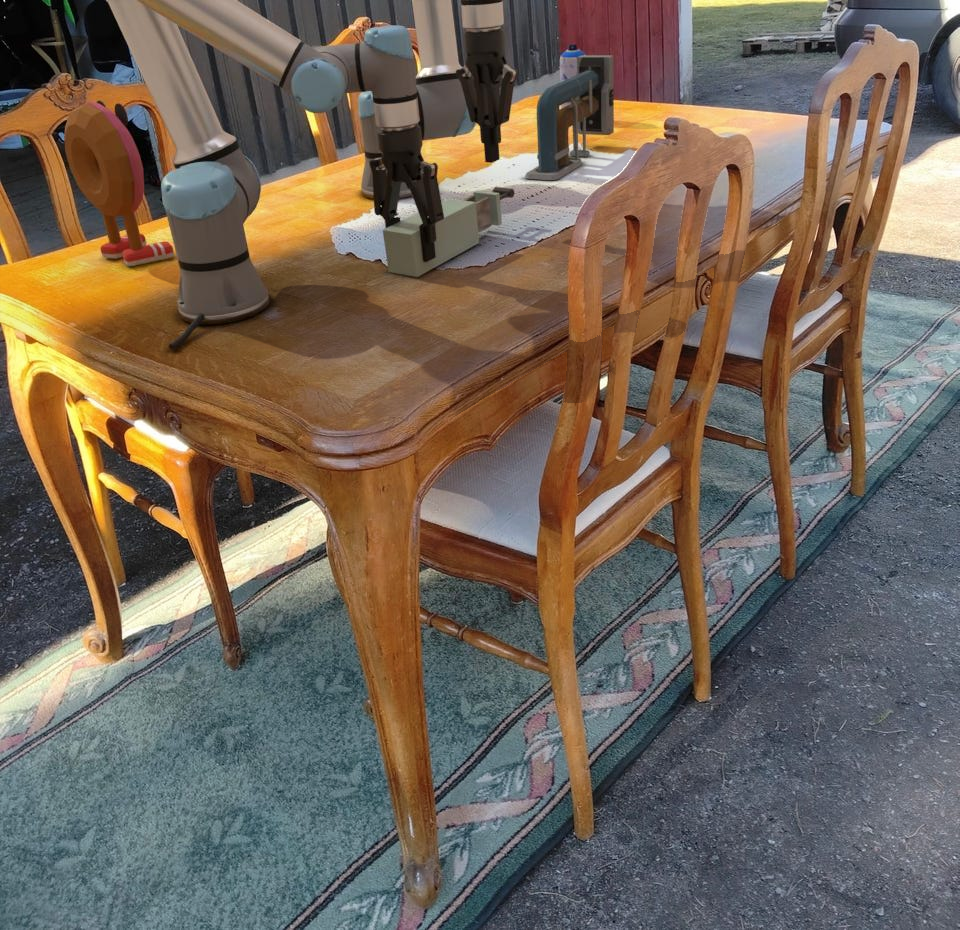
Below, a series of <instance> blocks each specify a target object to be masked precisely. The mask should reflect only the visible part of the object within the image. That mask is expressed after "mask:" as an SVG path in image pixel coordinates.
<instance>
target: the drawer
mask: <svg viewBox="0 0 960 930" xmlns="http://www.w3.org/2000/svg"><path fill="white" fill-rule="evenodd" d="M514 197H515V189H514V188H510V187H509V188H508V187H501V186H494V187H493V189H492V191H486V190H478V189H477V190H475V191H473V193H472V195H470V196H468V197H465V198H464V199H462V200H463V201H471V202H475V203H476V213H477V224H478V234H480V233H481V232H483V231H486V230H487V229H489V228H491V227H492V226H496V227H497V226H498V227H499V226H501V225H502V224H503V221H502V209H501V201H502V200H504V199H506V198H508V199H513V198H514Z"/></svg>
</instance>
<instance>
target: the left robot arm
mask: <svg viewBox="0 0 960 930" xmlns="http://www.w3.org/2000/svg"><path fill="white" fill-rule="evenodd" d="M105 1H106V2H107V3H108V5H109V8H110V9H111V12H112V14H113V16H114V18H115V20H116V22H117V25H118V27H119V30H120V31H121V33H122V36H123V39H124V40H125V42H126V44H127V46H128V48H129V51H130V52H131V55H132V57H133V59H134V62H135V63H136V66H137V68H138V70H139V72H140V74H141V77H142V79H143V81H144V83H145V85H146V87H147V89H148V92H149V94H150V96H151V98H152V101H153V102H154V104H155V106H156V109H157V112H158V113H159V115H160V117H161V120H162V121H163V124H164V126H165V128H166V130H167V133H168V135H169V137H170V139H171V141H172V144H173V146H174V148H175V152H174V155H173V158H172V165H173V167H174V168H173V169H172V170H171V171H169V172H168V173H166V175H165V176H164V177H163V178H162V180H161V183H160V190H161V199H162V206H163V208H164V210H165V214H166V218H167V221H168V226H169V230H170V234H171V238H172V241H173V248H174V250H175V251H174V252H175V254H176V258H177V262H178V266H179V283H178V294H177V310H178V314H179V318H180V319H182V320H183V321H184V322H186V323H189V325H188V326H187V328H186V329H185V330H184V332H183V333H181V335H180V336H178V337H176V339H174V340H173V341H172V342H171V343H169V344H168V348H169V350H171V351H173V350H175V349H176V348H178V347H179V346H180V345H182V344H183V343H184V342H185V341H187V339H188V338H189V337H190V336H191V334H192V333H193V332H194V331H195V329H196V328H197V327H198V326H199V325H202V326H203V325H204V326H205V325H206V326H210V325H222V324H230V323H233V322H239V321H241V320H245V319H248V318H251V317H253V316H256V315H258V314H260V312H263V311H264V310H265V309H266V308H267V307H268V306H269V305H270V296H269V291H268V289H267V287H266V284H265V283H264V282H263V280H262V278H261V276H260V274H259V272H258V270H257V269H256V267H255V265H254V264H253V262H252V260H251V257H250V251H249V246H248V241H247V236H246V232H245V227H244V224H245V222H246V221H247V220H248V218H249V217H250V216H251V215H252V214H253V213H254V212H255V210H256V208H257V206H258V204H259V201H260V198H261V197H260V196H261V191H262V182H261V181H262V180H261V177H260V173H259V171H258V169H257V167H256V165H255V164H254V163H253V162H252V160H251V159H250V158H248V156H246V155H244V154H243V151H242V149H241V147H240V144H239V143H238V140H237V137H236V136H234V135H232V134H230V133H228V132H226V131H225V130H223V127H222V125H221V122H220V121H219V118H218V116H217V113H216V111H215V109H214V107H213V104H212V101H211V100H210V97H209V95H208V93H207V91H206V88H205V86H204V84H203V82H202V79H201V77H200V74H199V72H198V70H197V67H196V65H195V62H194V60H193V58H192V55H191V54H190V52H189V48H188V47H187V45H186V43H185V40H184V38H183V36H182V35H183V34H182V33H181V30H180V28H182V29H183V30H184V31H186V32H188V33H190V34H191V35H193V36H195V37H196V38H198V39H200V40H202V41H203V42H205V43H206V44H207V45H209V46H211V47H213V48H214V49H216V50H218V51H220V52H222V53H223V54H225V55H226V56H228V57H229V58H231V59H233V60H234V61H236V62H237V63H240V64H241V65H243V66H244V67H247V68H248V69H249V70H251V71H252V72H254V73H256V74H258V75H259V76H261V77H262V78H264V79H266V80H268V81H269V82H271V83H272V84H274V85H276V86H277V87H279V88H281V89H282V90H284V92H287V93H289V94H290V95H291V96H293V98H294V100H295V101H296V103H297V104H298V105H299V106H300V108H302V109H303V110H305V111H307V112H309V113H311V114H325V113H327V112H329V111H331V110H333V109H334V108H336V107H338V105H339V104H340V103H342V101H343V99H344V96H345V94H346V95H347V94H355V93H362V92H366V91H372V95H373V104H374V113H375V122H376V126H378V127H380V128H379V129H378V131H377V136H378V144H379V150H380V151H381V152H382V157H379V158H376V159H373V160H371V161H370V162H369V164H370V168H371V171H372V175H373V194H374V199H373V209H374V211H373V212H374V215H376V216H380V217H382V219H383V220H384V227H385V228H388V227H390V226H392V225H394V224H396V223H398V222H400V221H401V217H399V212H398V205H399V200H400V199H399V194H400V187H401V183H402V182H404V183H406V186H407V188H408V189H410V191H411V193H412V196H411V197H412V198H413V201H414V204H415V206H416V209H417V213H418V212H419V215H420V217H421V220H422V223H423V224H421V225H420V226H419V228H420V236H421V245H422V254H423V262H428V261H430V260H432V259H434V258H436V254H435V245H434V242H435V241H436V239H437V238H436V228H435V223H437V222H439V221H441V220H443V219H444V214H443V208H442V202H441V201H442V196H441V192H440V185H439V181H438V170H439V169H438V168H439V166H438V163H436V162H432V163H431V162H430V163H429V162H428V161H425V160H424V157H423V155H422V147H423V141H422V134H421V127H420V126H419V125H418V124H417V123H418V122H419V121H420V117H419V107H418V98H417V87H416V76H417V75H416V67H415V65H416V64H415V54H414V50H413V44H412V37H411V32H410V30H409V29H408V28H407V27H406V26H404V25H382V26H375V27H371V28H367V29H366V30H365V32H364V39H363V41H360V42H356V43H345V44H332V45H312V46H310V45H308V43H307V44H306V43H305V42H304V41H302V40H301V39H299V38H297V37H296V36H294V35H292V34H291V33H290V32H288V31H286V30H285V29H284V28H282V27H280V26H278V25H277V24H275V23H273V22H272V21H270V20H269V19H267V18H266V17H264V16H263V15H261V14H259V13H258V12H256V11H255V10H253V9H252V8H250V7H248V6H247V5H245V4H244V3H242V2H240V1H239V0H105ZM179 27H180V28H179ZM386 170H387V174H386ZM421 170H422V172H421ZM422 175H423V176H422ZM415 180H416V182H412V181H415Z"/></svg>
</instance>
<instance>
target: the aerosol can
mask: <svg viewBox="0 0 960 930" xmlns="http://www.w3.org/2000/svg"><path fill="white" fill-rule="evenodd" d="M581 55H586V54H585V52H584V51H583V50H581V49H579V48H578V44H577V43H574V44H568V48H567V49H566V50H565V51H563V52H562V53H561V55H560V56H559V79H560V81H559V83H560V82H562V81H565V80H567V79H569V78H571V77H573V76H576V75H577V57H579V56H581ZM570 104H572V103H571V102H569V103H564V104H562V105H560V109H562V108H564V107H566V106H568V105H570Z"/></svg>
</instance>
